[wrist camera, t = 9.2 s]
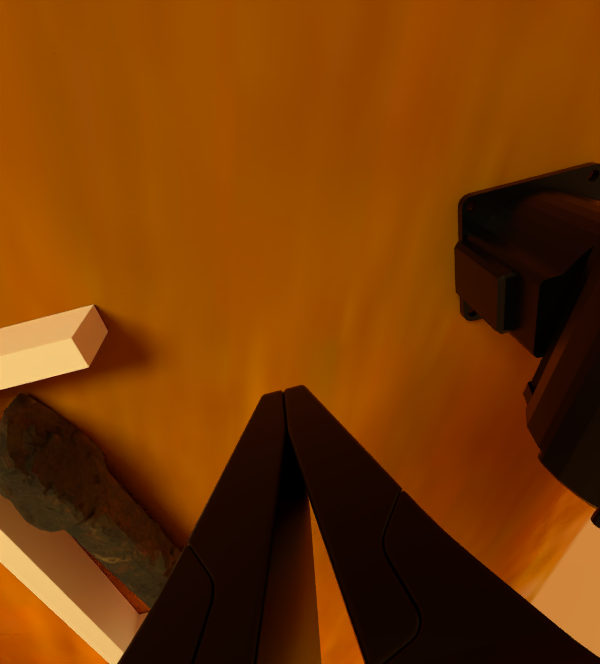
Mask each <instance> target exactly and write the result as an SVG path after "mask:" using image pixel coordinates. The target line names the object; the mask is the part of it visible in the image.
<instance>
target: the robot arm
mask: <svg viewBox="0 0 600 664" xmlns="http://www.w3.org/2000/svg"><path fill="white" fill-rule="evenodd" d="M591 171H593V174H592V176H591V177H590V178H589V179H588V176H589V174H590V173H591ZM472 201H474V206H473V207H472V209H470V210H468V209H467V207H468V204H469V203H470V202H472ZM458 236H459V241H458V242H457V244H456V246H455V248H454V251H455V287H456V293H457V294H458V295H459V296H460V313H461V315H462V316H463V317H464V318H465V319H466V320H468V321H474V320H478V319H482V318H483V319H484V320H485V321H486V322H487V323H488V324H489V325H490V326H491V327H492V328H493V329H494V330H495V331H497V332H499V333H500V334H504V333H508V332H509V333H510V334H511V335H512V336H513V337H514V338H515V339H516V340H517V341H518V342H519V343H521V344H522V345H523V346H524V347H525V348H526V349H527V350H528V351H529V352H530V353H531V354H532V355H533V356H535V357H536V358H541V357H543V358H542V360H541V362H540V364H539V366H538V368H537V371H536V373H535V375H534V377H533V379H532V381H530V382H528V384H527V386H526V388H525V390H524V392H523V395H524V397H525V400H526V402H527V405H528V406H527V408H526V419H527V427H528V429H529V431H530V433H531V434H532V436H533V438H534V440H535V442H536V444H537V445H538V447H539V448H540V449H541V450H540V452H539V454H538V458H539V460H540V462H541V463H542V464H543V466H544V467H545V468H546V469H547V470H548V471H549V472H550V473H551V474H552V475H553V476H554V477H555V478H556V479H557V480H558V481H559V482H560V483H561V484H562V485H564V486H565V487H566V488H567V489H569V490H570V491H571V492H573V493H574V494H575V495H576V496H578V497H579V498H580V499H582V500H583V501H585V502H586V503H587V504H589V505H590V506H592V507H594V508H596V511H595V512H594V514H593V515H592V516H591V521H592V522H593V524H594V525H595V526H597V527H598V528H600V164H598V163H594V162H590V163H585V164H581V165H578V166H574V167H570V168H566V169H562V170H558V171H554V172H550V173H546V174H543V175H539V176H535V177H531V178H527V179H523V180H519V181H515V182H511V183H507V184H504V185H500V186H496V187H492V188H488V189H484V190H480V191H476V192H472V193H469V194H466V195H464V196H463V197H462V198H461V199H460V201H459V204H458ZM470 309H474V310H473V311H472V312H471V313H469V311H470ZM308 497H309V498H308ZM309 500H310V503H311V506H312V509H313V512H314V515H315V518H316V521H317V524H318V527H319V530H320V533H321V536H322V539H323V542H324V545H325V548H326V551H327V554H328V557H329V560H330V563H331V566H332V569H333V572H334V575H335V578H336V581H337V584H338V587H339V590H340V593H341V596H342V598H343V601H344V604H345V607H346V610H347V613H348V616H349V619H350V622H351V625H352V628H353V631H354V634H355V637H356V640H357V643H358V646H359V649H360V652H361V655H362V658H363V661H364V664H600V658H599V657H598V656H596V655H595V654H593V653H592V652H591V651H589V650H588V649H587V648H585V647H584V646H582V645H581V644H580V643H578V642H577V641H576V640H574V639H573V638H572V637H571V636H569V635H568V634H567V633H565V632H564V631H563V630H562V629H561V628H559V627H558V626H557V625H556V624H555V623H553V622H552V621H551V620H550V619H548V618H547V617H546V616H545V615H544V614H542V613H541V612H540V611H539V610H538V609H536V608H535V607H534V606H533V605H532V604H530V603H529V602H528V601H527V600H526V599H524V598H523V597H522V596H521V595H520V594H518V593H517V592H516V591H515V590H514V589H512V588H511V587H510V586H509V585H507V584H506V583H505V582H504V581H503V580H501V579H500V578H499V577H498V576H497V575H495V574H494V573H493V572H492V571H491V570H489V569H488V568H487V567H486V566H485V565H483V564H482V563H481V562H480V561H478V560H477V559H476V558H475V557H474V556H473V555H471V554H470V553H469V552H468V551H467V550H466V549H465V548H463V547H462V546H461V545H460V544H459V543H458V542H457V541H455V540H454V539H453V538H452V537H451V536H450V535H449V534H447V533H446V532H445V531H444V530H443V529H442V528H441V527H440V526H439V525H438V524H437V523H436V522H435V521H434V520H433V519H432V518H431V517H430V516H429V515H428V514H427V513H426V512H425V511H424V510H423V509H422V508H421V507H420V506H419V505H418V504H417V503H416V502H415V501H414V500H413V499H412V498H411V497H410V496H409V495H408V494H407V493H406V492H405V491H402V488H401V487H400V486H399V485H398V483H397V482H396V481H395V480H394V479H393V478H392V477H391V476H390V475H389V474H388V473H387V472H386V471H385V470H384V469H383V468H382V467H381V466H380V464H379V463H378V462H377V461H376V460H375V459H374V458H373V457H372V456H371V455H370V454H369V453H368V452H367V451H366V450H365V449H364V448H363V447H362V445H361V444H360V443H359V442H358V441H357V440H356V439H355V438H354V437H353V436H352V435H351V434H350V433H349V432H348V431H347V430H346V429H345V428H344V427H343V425H342V424H341V423H340V422H339V421H338V420H337V419H336V418H335V417H334V416H333V415H332V414H331V413H330V412H329V411H328V410H327V409H326V408H325V406H324V405H323V404H322V403H321V402H320V401H319V400H318V399H317V398H316V397H315V396H314V395H313V394H312V393H311V392H310V391H309V390H308V389H307V387H305V386H304V385H299V386H295V387H291V388H287V389H285V391H284V392H283V391H281V390H280V391H275V392H271V393H267V394H264V395H263V396H262V397H261V399H260V401H259V403H258V405H257V407H256V409H255V410H254V412H253V414H252V416H251V418H250V420H249V422H248V424H247V426H246V428H245V430H244V432H243V434H242V436H241V438H240V440H239V442H238V444H237V445H236V447H235V449H234V451H233V453H232V455H231V457H230V459H229V461H228V463H227V465H226V467H225V469H224V471H223V473H222V475H221V477H220V479H219V481H218V482H217V484H216V486H215V488H214V490H213V492H212V494H211V496H210V498H209V500H208V502H207V504H206V506H205V508H204V510H203V512H202V514H201V516H200V517H199V519H198V521H197V523H196V525H195V527H194V529H193V531H192V533H191V535H190V537H189V539H188V541H187V544H188V545H189V546H188V545H186V546H185V547H184V548H183V550H182V552H181V554H180V556H179V558H178V560H177V562H176V564H175V566H174V568H173V569H172V571H171V573H170V575H169V577H168V579H167V580H166V582H165V584H164V586H163V588H162V590H161V591H160V593H159V595H158V597H157V599H156V601H155V602H154V604H153V606H152V607H151V609H150V611H149V612H148V614H147V616H146V617H145V619H144V621H143V622H142V624H141V626H140V627H139V629H138V631H137V632H136V634H135V636H134V637H133V639H132V641H131V642H130V644H129V645H128V647H127V649H126V650H125V652H124V653H123V655H122V656H121V658H120V660H119V661H118V663H117V664H321V652H320V639H319V625H318V612H317V598H316V585H315V571H314V558H313V544H312V531H311V517H310V506H309Z"/></svg>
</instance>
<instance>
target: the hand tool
mask: <svg viewBox="0 0 600 664" xmlns="http://www.w3.org/2000/svg"><path fill="white" fill-rule="evenodd" d="M0 494H1V495H2V496H3V497H5V498H6V499H8V500H10V501H11V503H12V504H13V505H14V507H15V508H16V509H17V510H18V512H19V513H20V515H21V516H22V517H23V518H24V520H25V521H26V522H27V523H29V524H31V525H32V526H34V527H36V528H38V529H40V530H43V531H48V532H56V531H61V530H65V531H66V532H67V533H69V534H70V535H71V536H72V537H74V538H75V539H77V541H78V542H79V544H81V545H82V546H83V547H84V548H85V549H86V550H87V551H88V552H89V553H91V554H92V555H93V556H94V557H95V558H96V559H97V560H98V561H99V562H101V563H102V564H103V565H104V566H105V567H106V568H107V569H108V570H109V571H111V572H112V573H113V574H114V576H116V577H117V578H118V579H119V580H120V581H121V582H122V583H124V584H125V585H126V586H127V588H128V589H129V590H130V591H132V592H133V593H134V594H136V595H137V597H138V598H139V599H140V600H142V601H143V602H144V603H145V604H146V605H147V606H148V607H149V608H150V609H151V607H152V606H153V604H154V602H155V601H156V599H157V597H158V595H159V593H160V591H161V590H162V588H163V586H164V584H165V582H166V580H167V579H168V577H169V575H170V573H171V571H172V569H173V568H174V566H175V564H176V562H177V560H178V558H179V556H180V554H181V551H180V550H179V549H178V548H177V547H176V546H175V545H174V544H173V543H172V542H171V541H170V540H169V539H168V538H167V537H166V536H165V535H164V533H163V532H162V531H161V530H160V526H159V524H158V522H155V521H153V520H151V519H150V517H149V516H148V515H147V514H146V512H145V511H144V509H142V508H141V507H140V506H139V505H138V504H137V503H136V502H135V501H134V500H133V499H132V498H131V496H130V495H129V494H128V493H127V492H126V491H125V490H124V488H123V487H122V486H121V485H120V484H119V483H118V482H117V481H116V480H115V479H114V478H113V477H112V476H111V474H110V473H109V471H108V468H107V466H106V464H105V462H104V452H103V451H102V450H101V449H100V448H99V447H98V446H97V445H96V444H95V443H94V442H93V441H92V440H91V439H90V438H89V437H88V436H87V435H85V434H84V433H83V432H82V431H81V430H79V429H78V428H77V427H75V426H74V425H73V424H71V423H70V422H68V421H67V420H66V419H64V418H63V417H62V416H60V415H59V414H57V413H55V412H54V411H52V410H51V409H50V408H48V407H47V406H45V405H43V404H41V403H40V402H38V401H36V400H34V399H33V398H31V397H30V396H28V395H26V394H19V395H18V396H17V397H16V398H15V399H14V400H13V402H12V403H11V404H10V405H9V406H8V408H7V409H6V410H5V411H4V414H3V417H2V420H1V421H0Z"/></svg>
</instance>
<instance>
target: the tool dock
mask: <svg viewBox="0 0 600 664" xmlns="http://www.w3.org/2000/svg"><path fill="white" fill-rule="evenodd" d="M107 333H108V330H107V328H106V326H105V325H104V323H103V321H102V319H101V317H100V315H99V314H98V312H97V310H96V308H95V306H94V305H90V306H86V307H82V308H78V309H74V310H70V311H66V312H63V313H59V314H55V315H51V316H47V317H43V318H39V319H35V320H31V321H27V322H24V323H20V324H16V325H12V326H8V327H4V328H0V390H2V389H6V388H10V387H14V386H17V385H21V384H25V383H29V382H33V381H37V380H41V379H45V378H49V377H53V376H57V375H61V374H65V373H68V372H72V371H76V370H80V369H84V368H88V367H89V366H90V364H91V363H92V361H93V359H94V357H95V355H96V353H97V351H98V350H99V348H100V346H101V344H102V342H103V340H104V338H105V336H106V335H107ZM0 562H1V563H2V564H3V565H4V566H5V567H6V568H7V569H8V570H9V571H10V572H12V573H13V574H14V575H15V576H16V577H17V578H18V579H19V580H20V581H21V582H22V583H23V584H24V585H25V586H27V587H28V588H29V589H30V590H31V591H32V592H33V593H34V594H35V595H36V596H37V597H38V598H39V599H41V600H42V601H43V602H44V603H45V604H46V605H47V606H48V607H49V608H50V609H51V610H52V611H53V612H55V613H56V614H57V615H58V616H59V617H60V618H61V619H62V620H63V621H64V622H65V623H66V624H67V625H68V626H70V627H71V628H72V629H73V630H74V631H75V632H76V633H77V634H78V635H79V636H80V637H81V638H82V639H84V640H85V641H86V642H87V643H88V644H89V645H90V646H91V647H92V648H93V649H94V650H95V651H96V652H98V653H99V654H100V655H101V656H102V657H103V658H104V659H105V660H106V661H107V662H108V663H109V664H117V663H118V661H119V660H120V658H121V656H122V655H123V653H124V652H125V650H126V649H127V647H128V645H129V644H130V642H131V641H132V639H133V637H134V636H135V634H136V632H137V631H138V629H139V627H140V626H141V624H142V622H143V621H144V619H145V617H146V616H147V614H148V612H147V613H143V614H138V612H137V611H136V610H135V609H134V608H133V607H132V605H131V604H130V603H129V602H128V601H127V600H126V599H125V597H124V596H123V595H122V594H121V593H120V592H119V590H118V589H117V588H116V587H115V586H114V585H113V583H112V582H111V581H110V580H109V579H108V578H107V577H106V575H105V574H104V573H103V572H102V571H101V570H100V568H99V567H98V566H97V565H96V564H95V563H94V561H93V560H92V559H91V558H90V557H89V556H88V554H87V553H86V552H85V551H84V550H83V549H82V548H81V546H80V545H79V544H78V543H77V542H76V541H75V539H74V538H73V537H72V536H71V535H70V534H69V533H67V532H66V531H65V530H61V531H56V532H48V531H43V530H40V529H38V528H36V527H34V526H32V525H31V524H29V523H27V522H26V521H25V520H24V518H23V517H22V516H21V515H20V513H19V512H18V510H17V509H16V508H15V507H14V505H13V504H12V503H11V501H10V500H8V499H6V498H5V497H3V496H2V495H1V494H0Z"/></svg>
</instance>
